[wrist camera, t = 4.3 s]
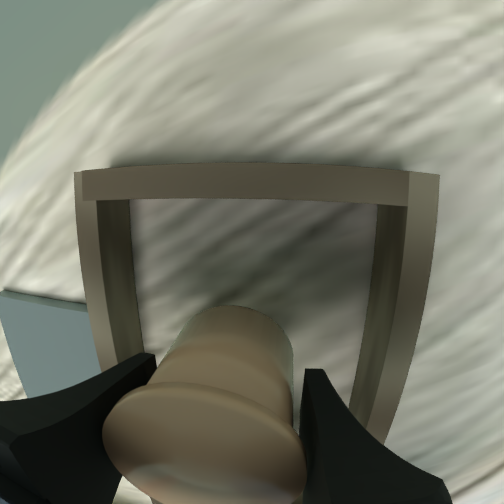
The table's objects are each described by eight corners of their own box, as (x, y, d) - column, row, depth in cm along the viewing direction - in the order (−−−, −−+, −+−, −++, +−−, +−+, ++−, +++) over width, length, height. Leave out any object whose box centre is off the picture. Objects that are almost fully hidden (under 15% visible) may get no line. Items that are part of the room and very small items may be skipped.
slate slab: (136, 431, 19) (130, 440, 18) (37, 399, 21) (30, 405, 20) (108, 307, 17) (99, 314, 16) (3, 290, 18) (-6, 294, 17)
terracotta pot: (297, 412, 13) (295, 525, 7) (176, 400, 14) (129, 499, 8) (308, 298, 12) (321, 408, 6) (162, 291, 12) (78, 377, 7)
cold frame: (343, 481, 19) (347, 522, 15) (154, 463, 20) (137, 499, 16) (403, 173, 13) (439, 175, 10) (108, 170, 15) (59, 173, 11)
